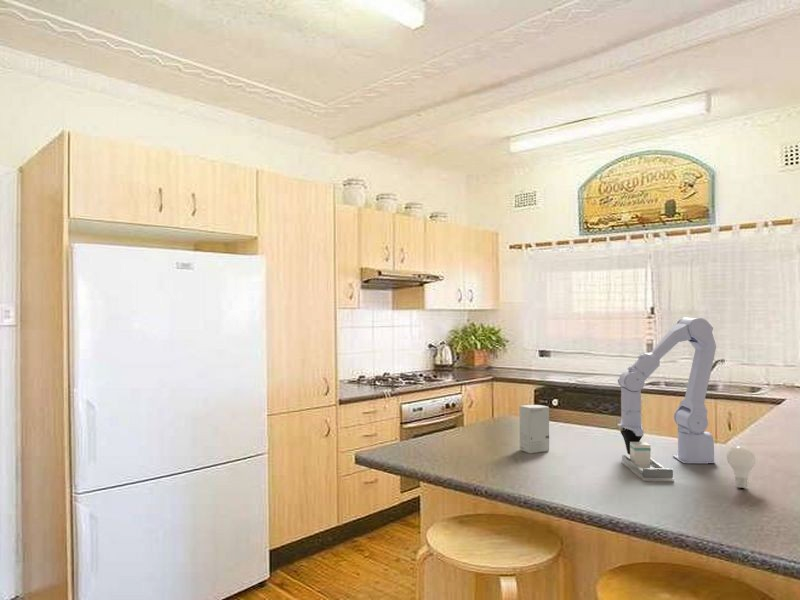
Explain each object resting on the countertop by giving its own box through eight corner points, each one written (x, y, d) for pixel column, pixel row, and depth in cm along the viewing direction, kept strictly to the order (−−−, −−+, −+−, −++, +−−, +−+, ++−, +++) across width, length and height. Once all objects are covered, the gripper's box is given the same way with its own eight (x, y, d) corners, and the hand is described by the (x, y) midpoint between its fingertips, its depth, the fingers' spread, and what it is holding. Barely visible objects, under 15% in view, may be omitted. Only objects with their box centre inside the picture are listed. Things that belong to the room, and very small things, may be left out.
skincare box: (529, 454, 177) (529, 408, 178) (518, 449, 183) (518, 405, 183) (550, 451, 181) (550, 406, 181) (539, 447, 186) (538, 403, 186)
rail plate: (648, 462, 167) (648, 452, 167) (674, 481, 149) (673, 469, 149) (621, 462, 167) (621, 451, 167) (643, 481, 149) (643, 469, 149)
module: (645, 461, 165) (645, 441, 165) (650, 465, 161) (650, 445, 161) (629, 461, 165) (629, 441, 165) (634, 465, 161) (634, 445, 161)
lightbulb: (756, 494, 138) (755, 450, 139) (727, 489, 142) (726, 447, 142) (755, 487, 144) (755, 445, 144) (727, 482, 147) (727, 442, 147)
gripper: (610, 406, 177) (611, 448, 177) (626, 414, 163) (626, 460, 163) (632, 406, 177) (633, 448, 177) (650, 415, 162) (651, 460, 162)
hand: (631, 454), depth 170 cm, fingers closed
